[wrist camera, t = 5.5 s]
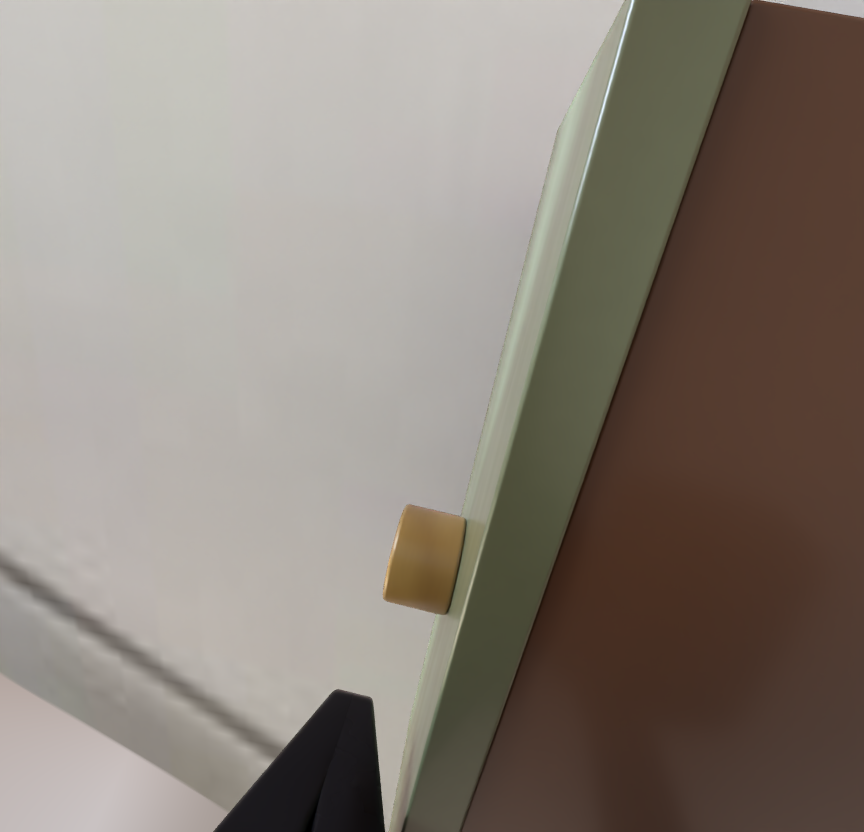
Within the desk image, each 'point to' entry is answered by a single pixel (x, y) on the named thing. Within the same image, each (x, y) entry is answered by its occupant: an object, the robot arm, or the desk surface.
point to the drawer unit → (720, 496)
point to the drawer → (552, 384)
